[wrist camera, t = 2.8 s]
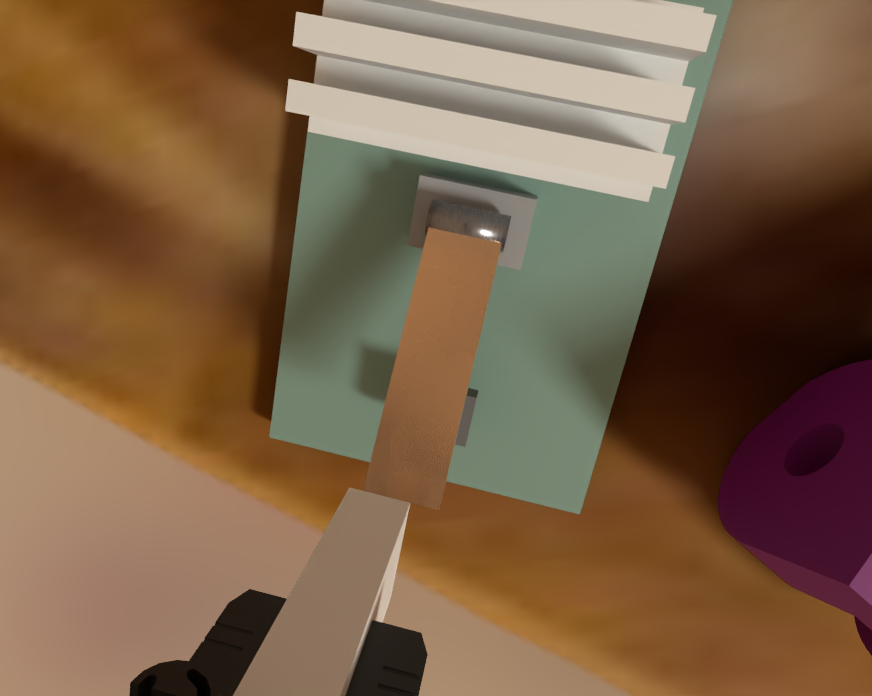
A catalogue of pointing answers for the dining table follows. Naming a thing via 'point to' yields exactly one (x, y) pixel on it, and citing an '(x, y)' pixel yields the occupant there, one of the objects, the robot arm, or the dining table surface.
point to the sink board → (492, 191)
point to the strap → (436, 354)
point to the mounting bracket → (811, 492)
